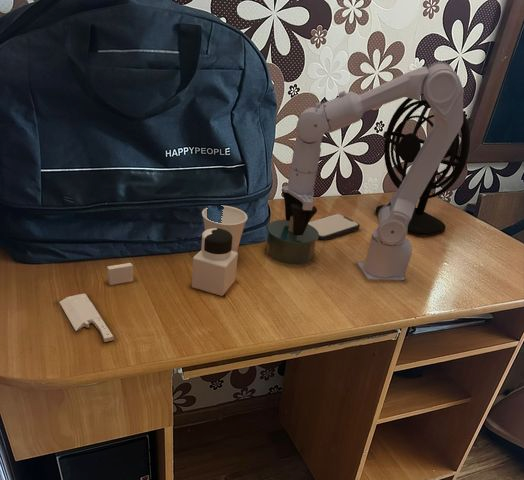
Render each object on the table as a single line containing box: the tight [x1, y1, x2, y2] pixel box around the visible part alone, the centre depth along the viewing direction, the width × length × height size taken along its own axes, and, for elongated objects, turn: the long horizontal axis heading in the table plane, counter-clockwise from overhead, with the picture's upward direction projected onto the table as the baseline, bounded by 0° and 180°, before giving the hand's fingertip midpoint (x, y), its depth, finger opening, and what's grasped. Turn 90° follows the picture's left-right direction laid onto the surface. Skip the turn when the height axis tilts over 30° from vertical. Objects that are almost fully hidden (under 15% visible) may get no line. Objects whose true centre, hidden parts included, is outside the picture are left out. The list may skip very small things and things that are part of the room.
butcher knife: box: [58, 293, 115, 343], centre depth 91 cm, size 5×15×1 cm, turn 33°
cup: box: [201, 205, 248, 253], centre depth 112 cm, size 10×10×11 cm
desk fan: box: [375, 94, 471, 237], centre depth 137 cm, size 27×18×35 cm, turn 34°
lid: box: [266, 216, 319, 244], centre depth 117 cm, size 12×12×4 cm
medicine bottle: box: [191, 228, 239, 297], centre depth 103 cm, size 7×7×12 cm
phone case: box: [308, 213, 360, 242], centre depth 136 cm, size 9×2×16 cm
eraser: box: [106, 262, 134, 286], centre depth 102 cm, size 1×5×4 cm, turn 121°
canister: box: [265, 233, 317, 265], centre depth 120 cm, size 11×11×6 cm
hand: (294, 227), depth 118 cm, fingers open, 7 cm apart
